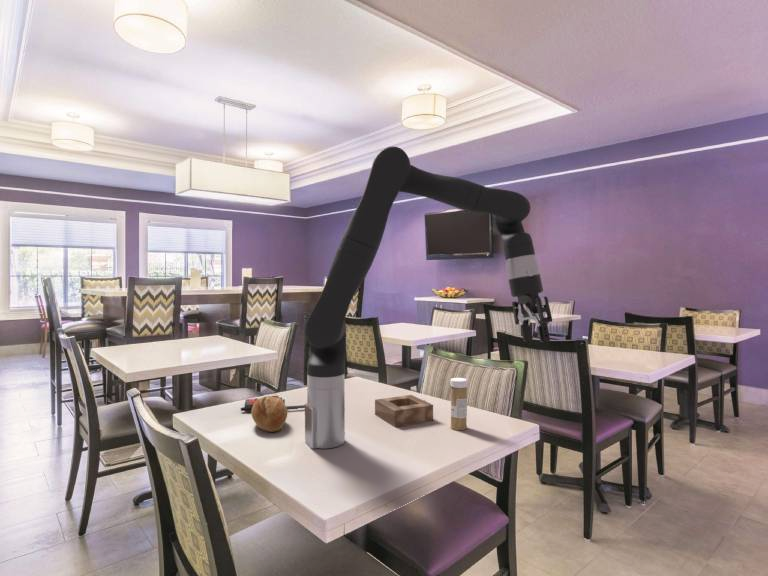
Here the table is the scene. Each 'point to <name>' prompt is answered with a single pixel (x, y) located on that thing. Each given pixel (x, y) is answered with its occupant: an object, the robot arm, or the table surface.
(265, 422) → the bread roll
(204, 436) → the table surface
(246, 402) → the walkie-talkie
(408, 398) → the walnut bottle stand
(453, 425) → the sprinkles bottle
